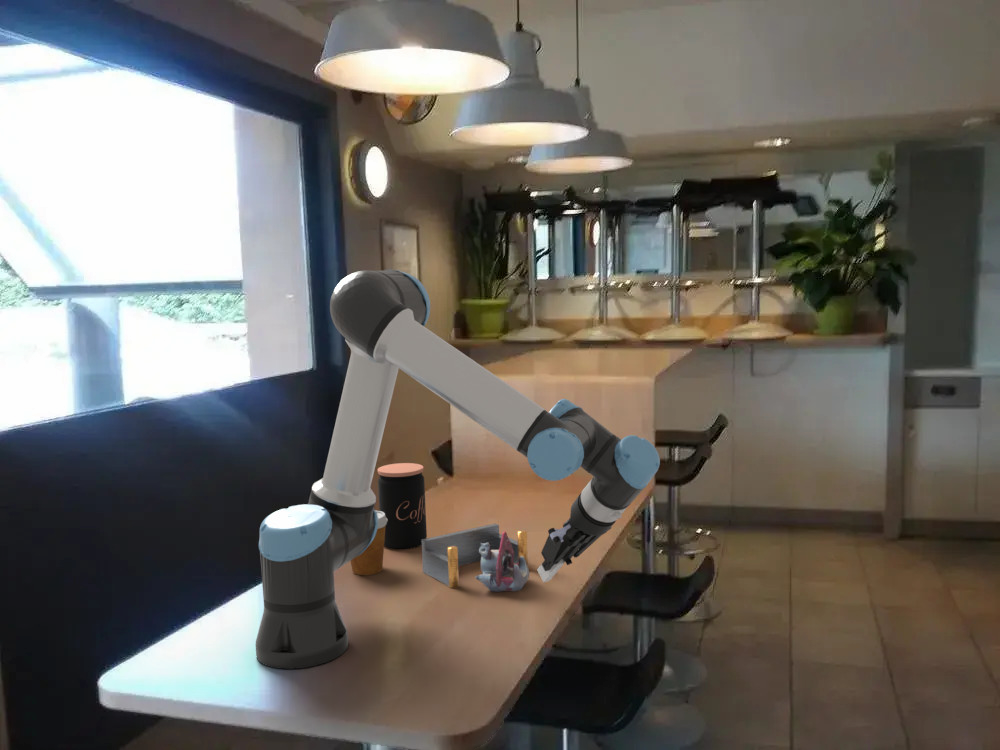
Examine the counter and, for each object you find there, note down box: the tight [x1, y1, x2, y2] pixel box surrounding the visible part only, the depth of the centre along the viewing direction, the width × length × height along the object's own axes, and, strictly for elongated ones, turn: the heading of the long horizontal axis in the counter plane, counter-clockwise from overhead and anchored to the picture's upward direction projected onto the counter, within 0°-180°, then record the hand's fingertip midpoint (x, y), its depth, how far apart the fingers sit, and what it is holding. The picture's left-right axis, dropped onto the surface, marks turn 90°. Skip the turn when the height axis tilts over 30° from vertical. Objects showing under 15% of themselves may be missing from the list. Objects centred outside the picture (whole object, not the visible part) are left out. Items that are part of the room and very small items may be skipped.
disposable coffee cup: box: [350, 510, 388, 576], centre depth 186 cm, size 10×10×12 cm
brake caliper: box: [474, 531, 530, 593], centre depth 174 cm, size 11×11×12 cm
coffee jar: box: [377, 462, 428, 551], centre depth 203 cm, size 11×11×18 cm
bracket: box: [421, 523, 529, 589], centre depth 183 cm, size 19×12×8 cm, turn 124°
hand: (543, 575), depth 163 cm, fingers closed
